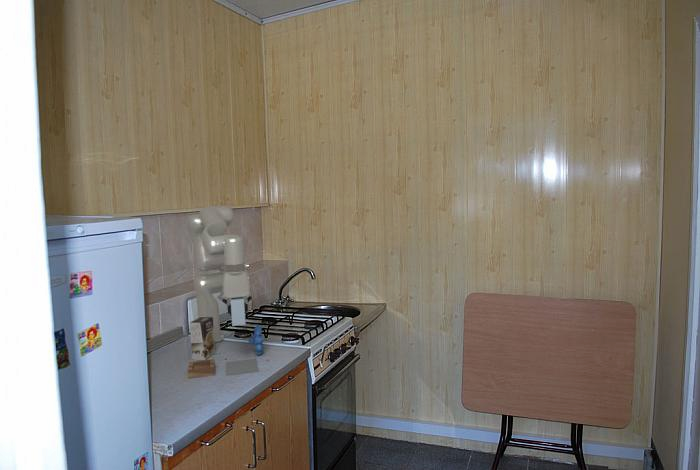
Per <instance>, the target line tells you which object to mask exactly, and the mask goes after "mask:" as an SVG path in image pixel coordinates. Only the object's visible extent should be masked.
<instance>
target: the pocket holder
mask: <svg viewBox="0 0 700 470" xmlns="http://www.w3.org/2000/svg"><path fill="white" fill-rule="evenodd" d="M215 361H216V359H215V358H213V359H206V360H195V361H189V363H188V367H187V379H188V380H189V379H196V378H202V377H204V378H205V377H210V376H215V375H216V374H215V373H216V362H215Z"/></svg>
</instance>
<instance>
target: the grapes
mask: <svg viewBox="0 0 700 470" xmlns="http://www.w3.org/2000/svg"><path fill="white" fill-rule="evenodd" d="M262 329H263V328H262V327H261V326H260V325H258V324H257V325H255V327H254V328H253V336H251V337H250V338H249V339H248V343H249V344H250V345H252V346H254V349H255V351H254V352H255V354H257V356H261V355H262V353H263V352H264V349H263V348H264V347H263V342H264V341H265V338H264V337H263V335H262V333H263V332H262V331H263V330H262Z"/></svg>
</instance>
